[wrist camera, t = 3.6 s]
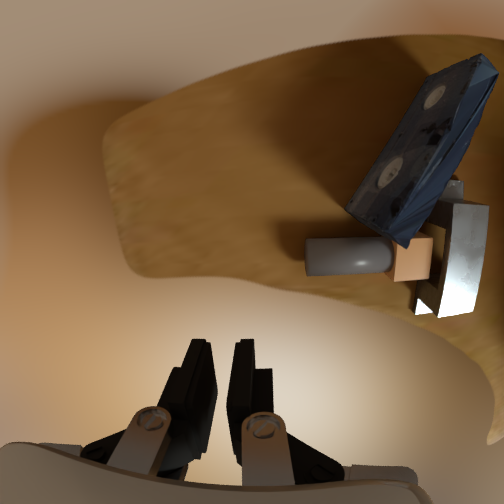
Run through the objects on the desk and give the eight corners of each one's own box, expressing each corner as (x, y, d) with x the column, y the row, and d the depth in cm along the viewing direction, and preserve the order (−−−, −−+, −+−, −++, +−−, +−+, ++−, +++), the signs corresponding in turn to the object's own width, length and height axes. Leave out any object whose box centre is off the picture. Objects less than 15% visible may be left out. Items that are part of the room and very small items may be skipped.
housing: (424, 177, 25) (454, 180, 20) (459, 180, 25) (490, 185, 20) (412, 311, 29) (433, 334, 24) (445, 306, 29) (468, 327, 24)
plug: (304, 232, 27) (310, 241, 24) (415, 229, 27) (433, 238, 23) (304, 272, 28) (310, 286, 25) (411, 266, 28) (428, 278, 24)
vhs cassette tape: (361, 224, 27) (406, 252, 17) (338, 206, 27) (377, 226, 17) (445, 94, 23) (503, 76, 13) (427, 75, 22) (481, 50, 13)
